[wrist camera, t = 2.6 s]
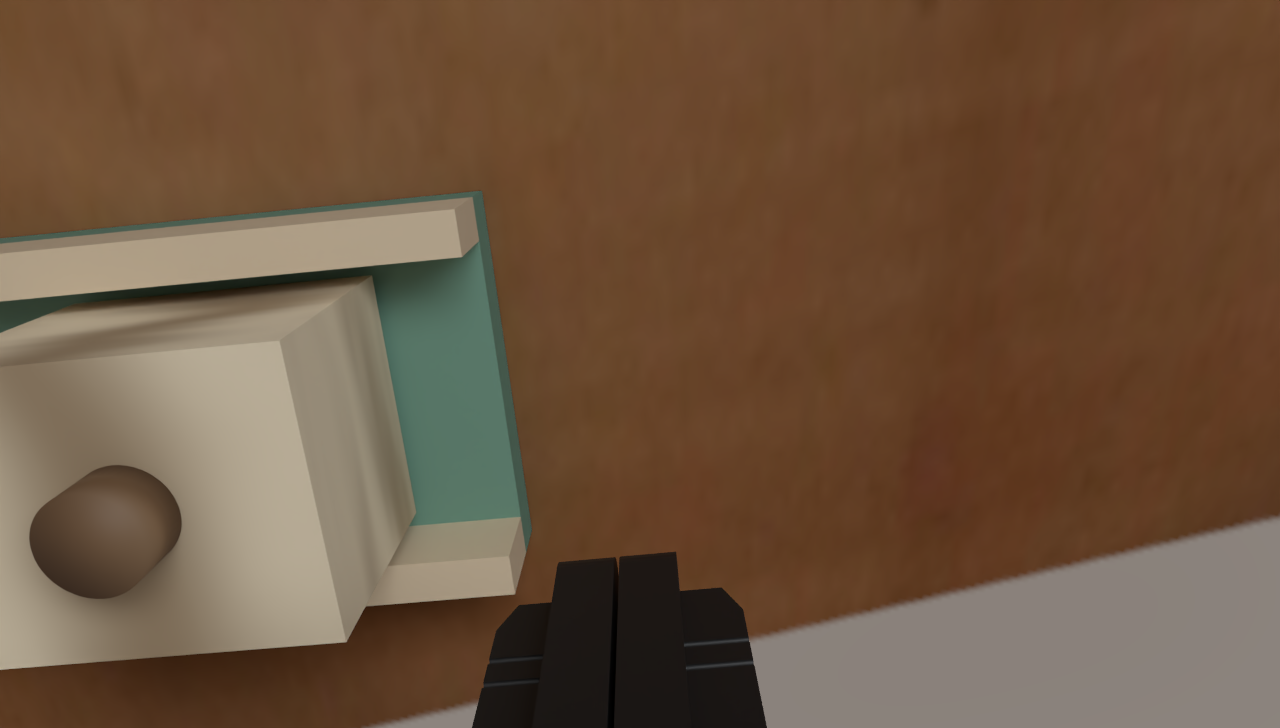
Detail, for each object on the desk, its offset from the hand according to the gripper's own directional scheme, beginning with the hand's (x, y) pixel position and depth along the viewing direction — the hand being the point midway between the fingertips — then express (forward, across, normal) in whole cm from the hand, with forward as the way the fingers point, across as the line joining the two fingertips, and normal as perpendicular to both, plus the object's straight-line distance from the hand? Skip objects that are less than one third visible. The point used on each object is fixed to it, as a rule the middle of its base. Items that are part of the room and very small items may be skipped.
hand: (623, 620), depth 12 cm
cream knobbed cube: (+11, +9, 0) cm, 14 cm away
